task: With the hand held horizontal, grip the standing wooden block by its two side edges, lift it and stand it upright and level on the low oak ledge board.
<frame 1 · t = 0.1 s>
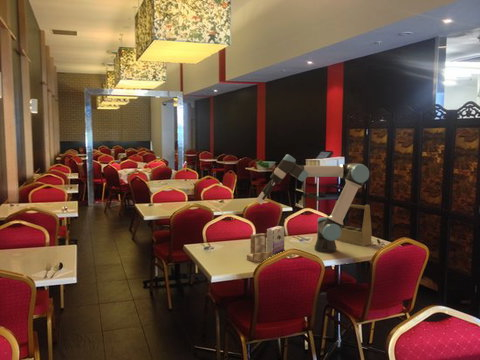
hand: (258, 202, 295), 36 cm above the table, tool tilted 35°, fingers open, 13 cm apart
wooden block: (258, 255, 299), on the table
candy box: (275, 251, 309), on the table
ledge: (259, 259, 289), on the table
caddy: (351, 241, 338), on the table
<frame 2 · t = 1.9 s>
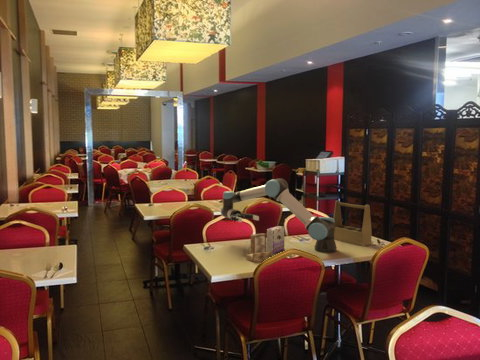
hand: (250, 219, 306), 22 cm above the table, tool horizontal, fingers open, 13 cm apart
nothing on the table moved.
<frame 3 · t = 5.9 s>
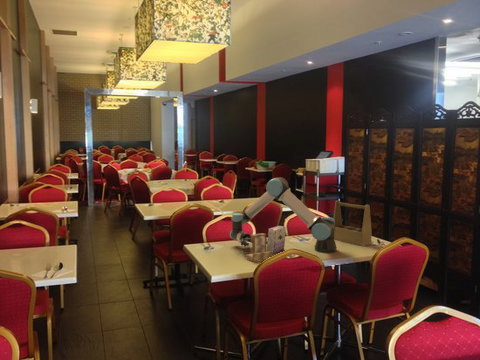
hand: (260, 244, 295), 8 cm above the table, tool horizontal, fingers open, 13 cm apart
candy box: (275, 251, 309), on the table, touching gripper
everything else where it was.
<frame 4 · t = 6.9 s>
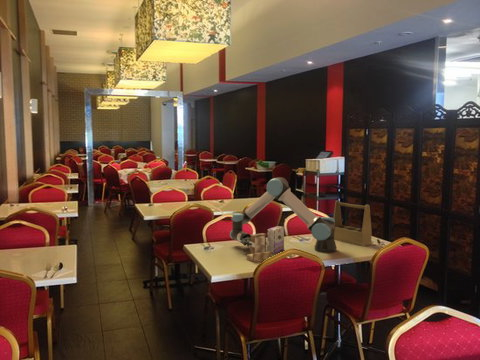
hand: (261, 244, 294), 8 cm above the table, tool horizontal, fingers closed on wooden block, 10 cm apart
wooden block: (258, 255, 299), on the table, touching gripper
candy box: (275, 251, 309), on the table
everything else where it was.
when the fingers open (12 cm above the table, at t = 11.7 s): wooden block drops 1 cm, resting on ledge.
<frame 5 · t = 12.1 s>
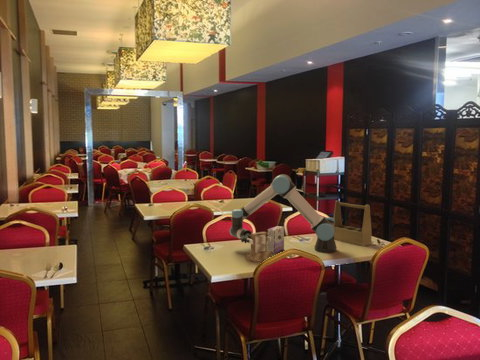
hand: (261, 240, 285), 12 cm above the table, tool horizontal, fingers open, 13 cm apart
wooden block: (258, 254, 289), point 3 cm above the table, touching ledge
everything else where it was.
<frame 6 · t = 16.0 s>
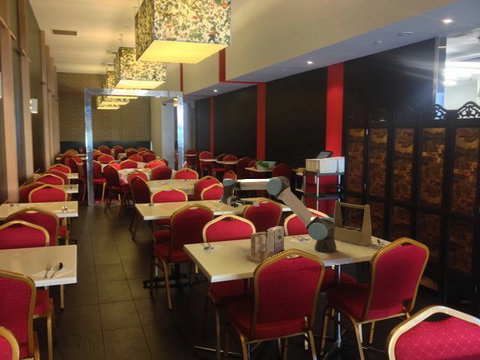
hand: (250, 205, 305), 32 cm above the table, tool horizontal, fingers open, 13 cm apart
nothing on the table moved.
at the end: wooden block inside the target area on the ledge (0.6 cm from its centre), point 3.0 cm above the ledge's base; wooden block tilted 0°; the gripper is holding nothing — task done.
